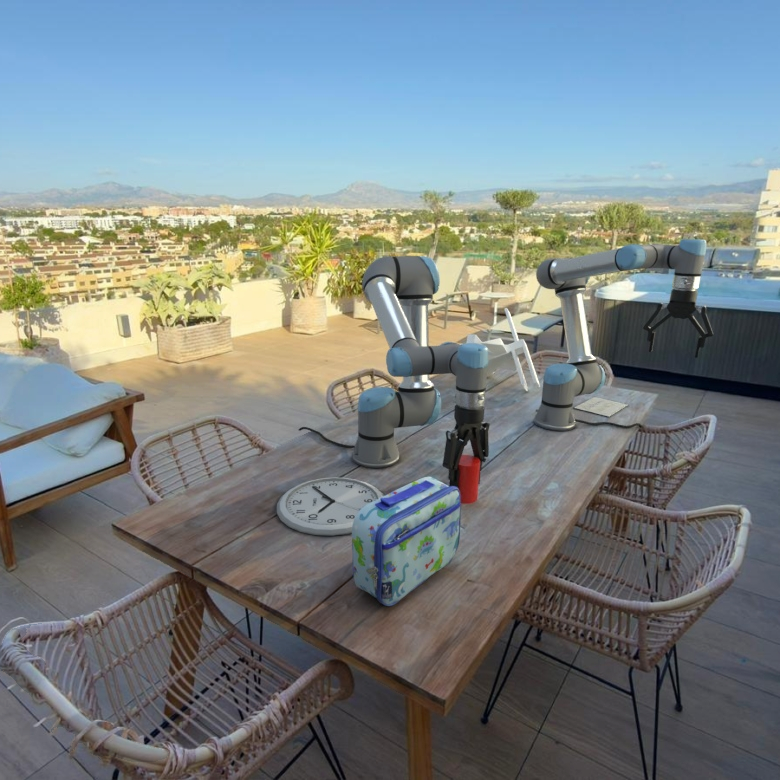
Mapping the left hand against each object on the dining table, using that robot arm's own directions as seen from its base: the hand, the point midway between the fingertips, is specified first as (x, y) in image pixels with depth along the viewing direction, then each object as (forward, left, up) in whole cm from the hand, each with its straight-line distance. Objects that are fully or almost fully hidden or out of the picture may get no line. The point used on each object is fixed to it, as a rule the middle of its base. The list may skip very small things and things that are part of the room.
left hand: (464, 486), depth 139 cm
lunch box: (-5, -32, -7) cm, 34 cm away
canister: (0, 0, -3) cm, 3 cm away
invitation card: (+36, +108, -7) cm, 114 cm away
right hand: (+53, +67, +27) cm, 90 cm away
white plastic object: (-14, +122, -7) cm, 123 cm away
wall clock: (-34, -11, -7) cm, 36 cm away
